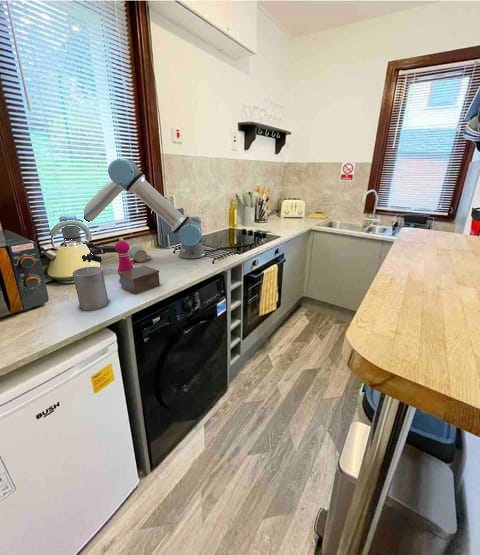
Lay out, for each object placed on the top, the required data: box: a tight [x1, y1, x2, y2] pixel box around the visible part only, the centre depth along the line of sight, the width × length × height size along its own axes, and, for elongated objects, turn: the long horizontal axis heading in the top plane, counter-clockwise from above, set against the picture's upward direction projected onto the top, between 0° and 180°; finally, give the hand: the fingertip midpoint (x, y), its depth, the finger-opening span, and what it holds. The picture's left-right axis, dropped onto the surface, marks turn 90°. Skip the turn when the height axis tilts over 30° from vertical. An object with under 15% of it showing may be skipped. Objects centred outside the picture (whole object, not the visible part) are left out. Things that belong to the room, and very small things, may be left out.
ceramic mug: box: [129, 245, 152, 263], centre depth 153 cm, size 11×8×8 cm
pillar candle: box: [72, 266, 109, 311], centre depth 101 cm, size 10×10×15 cm
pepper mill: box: [114, 237, 135, 282], centre depth 123 cm, size 7×7×20 cm
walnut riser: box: [119, 264, 161, 295], centre depth 119 cm, size 12×11×7 cm
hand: (114, 255), depth 125 cm, fingers open, 13 cm apart
